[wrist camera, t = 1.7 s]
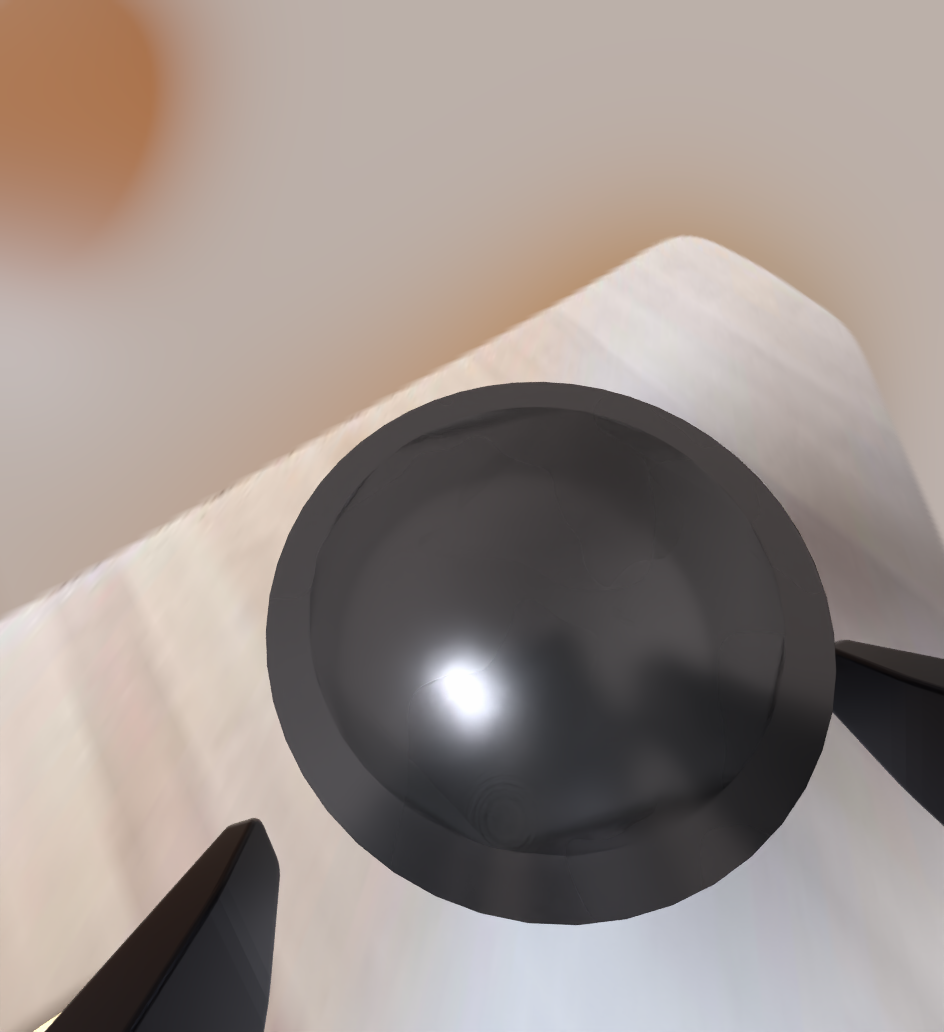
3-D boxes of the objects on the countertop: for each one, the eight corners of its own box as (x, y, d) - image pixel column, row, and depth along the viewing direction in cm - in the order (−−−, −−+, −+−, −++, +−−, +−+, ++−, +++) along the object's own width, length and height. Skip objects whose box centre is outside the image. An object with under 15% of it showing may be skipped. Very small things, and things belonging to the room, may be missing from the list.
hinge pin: (635, 775, 15) (973, 658, 4) (491, 887, 14) (442, 1130, 3) (534, 634, 18) (582, 324, 7) (403, 720, 17) (195, 517, 5)
